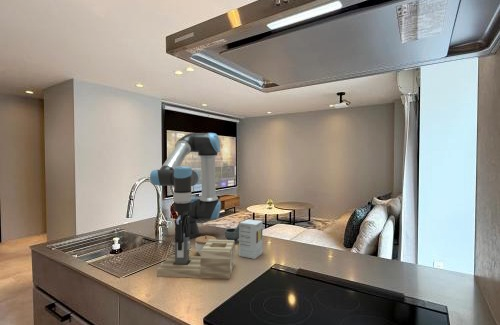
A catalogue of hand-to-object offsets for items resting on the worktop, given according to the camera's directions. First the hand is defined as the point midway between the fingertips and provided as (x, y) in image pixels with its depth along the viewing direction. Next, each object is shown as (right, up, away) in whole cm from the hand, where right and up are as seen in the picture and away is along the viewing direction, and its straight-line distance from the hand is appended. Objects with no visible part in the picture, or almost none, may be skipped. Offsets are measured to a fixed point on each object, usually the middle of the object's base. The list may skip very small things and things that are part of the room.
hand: (182, 255), depth 112 cm
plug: (0, -5, 0) cm, 5 cm away
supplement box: (+30, -7, +18) cm, 36 cm away
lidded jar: (+7, -6, +19) cm, 21 cm away
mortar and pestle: (+20, -6, +38) cm, 43 cm away
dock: (+7, -6, 0) cm, 9 cm away
